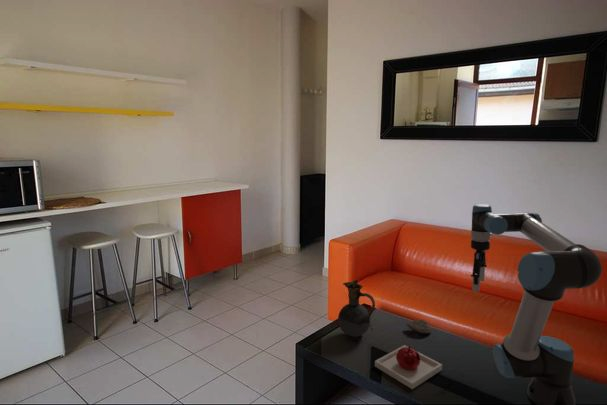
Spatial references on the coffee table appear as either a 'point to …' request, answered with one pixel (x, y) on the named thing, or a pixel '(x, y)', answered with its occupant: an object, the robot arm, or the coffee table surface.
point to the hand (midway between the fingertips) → (478, 285)
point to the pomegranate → (408, 358)
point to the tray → (408, 377)
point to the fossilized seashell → (419, 326)
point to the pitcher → (355, 313)
